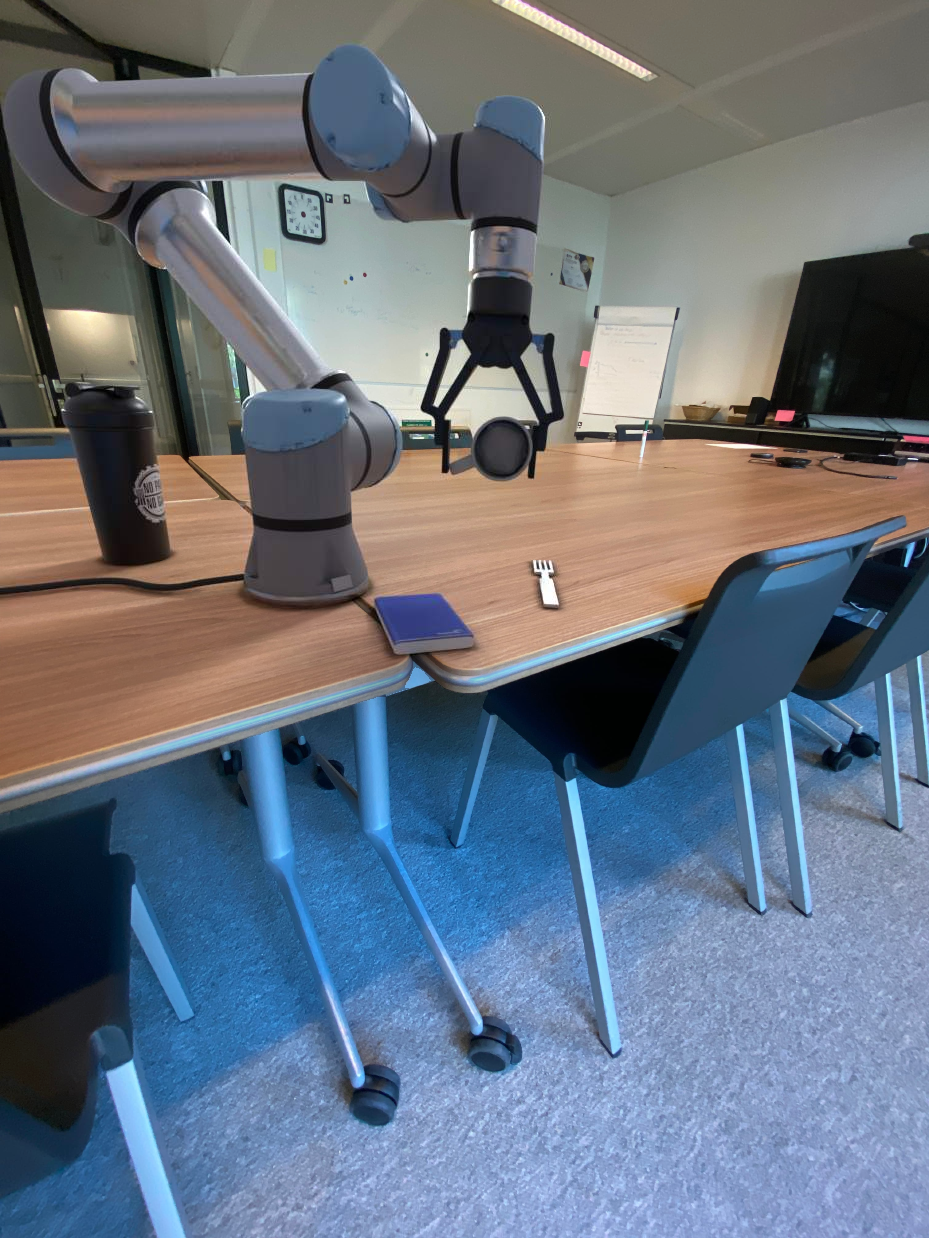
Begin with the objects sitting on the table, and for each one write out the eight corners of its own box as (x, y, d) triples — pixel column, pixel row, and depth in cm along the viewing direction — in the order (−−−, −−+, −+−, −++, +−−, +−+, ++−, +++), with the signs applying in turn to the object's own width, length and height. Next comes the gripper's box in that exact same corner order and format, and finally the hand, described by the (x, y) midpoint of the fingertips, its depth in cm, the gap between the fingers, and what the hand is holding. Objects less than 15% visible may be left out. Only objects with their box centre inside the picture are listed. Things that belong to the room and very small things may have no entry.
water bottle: (154, 568, 72) (118, 384, 63) (79, 565, 72) (32, 380, 63) (190, 548, 82) (163, 386, 73) (124, 545, 82) (89, 382, 73)
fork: (539, 607, 66) (540, 603, 65) (532, 562, 83) (532, 559, 83) (562, 608, 65) (562, 604, 65) (550, 563, 83) (550, 560, 83)
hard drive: (474, 633, 54) (441, 592, 64) (394, 640, 51) (373, 596, 62) (473, 647, 54) (441, 604, 65) (394, 655, 52) (374, 609, 63)
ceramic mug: (525, 474, 74) (529, 415, 71) (530, 483, 67) (534, 417, 64) (450, 471, 75) (451, 413, 72) (446, 480, 67) (447, 415, 64)
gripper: (396, 268, 59) (396, 473, 67) (606, 278, 58) (579, 484, 66) (407, 281, 66) (406, 465, 74) (595, 290, 65) (572, 476, 73)
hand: (487, 474), depth 70 cm, fingers closed on ceramic mug, 11 cm apart
